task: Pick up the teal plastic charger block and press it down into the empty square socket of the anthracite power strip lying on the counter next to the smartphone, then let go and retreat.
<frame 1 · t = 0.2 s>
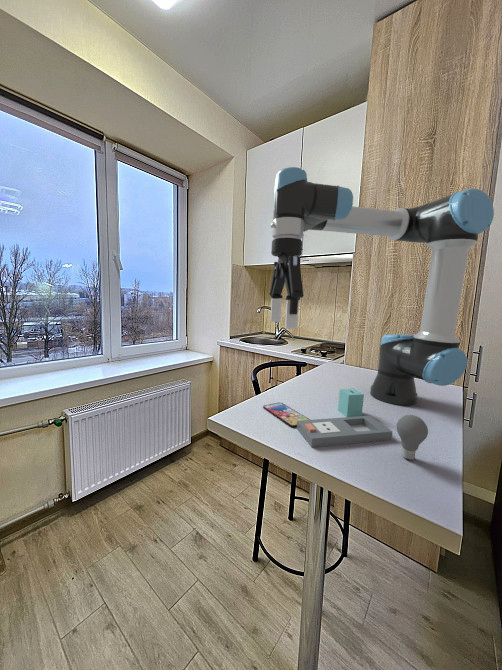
hand: (282, 324, 70), 27 cm above the table, fingers open, 13 cm apart
light bulb: (407, 458, 61), on the table
charger: (349, 413, 83), on the table
smartphone: (285, 416, 81), on the table
power strip: (342, 433, 71), on the table
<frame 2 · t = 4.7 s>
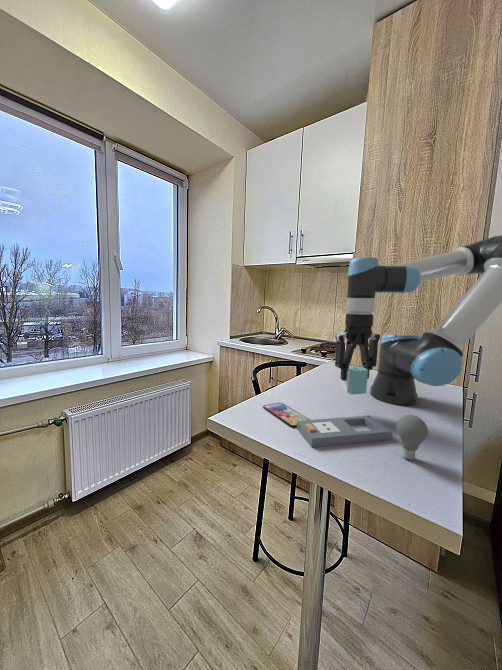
hand: (353, 389, 82), 8 cm above the table, fingers closed on charger, 5 cm apart
charger: (353, 390, 82), point 7 cm above the table, touching gripper
everything else where it was.
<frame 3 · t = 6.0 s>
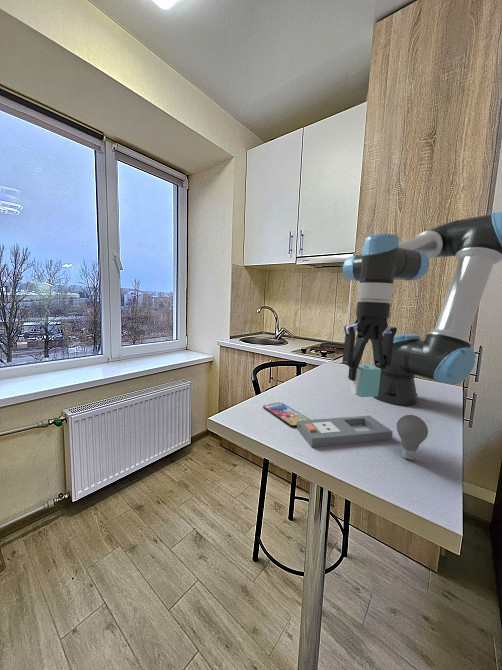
hand: (363, 391, 70), 11 cm above the table, fingers closed on charger, 5 cm apart
charger: (363, 393, 70), point 11 cm above the table, touching gripper
everything else where it was.
when the fingers open (3 cm above the table, at t = 7.6 s): charger drops 2 cm, resting on power strip.
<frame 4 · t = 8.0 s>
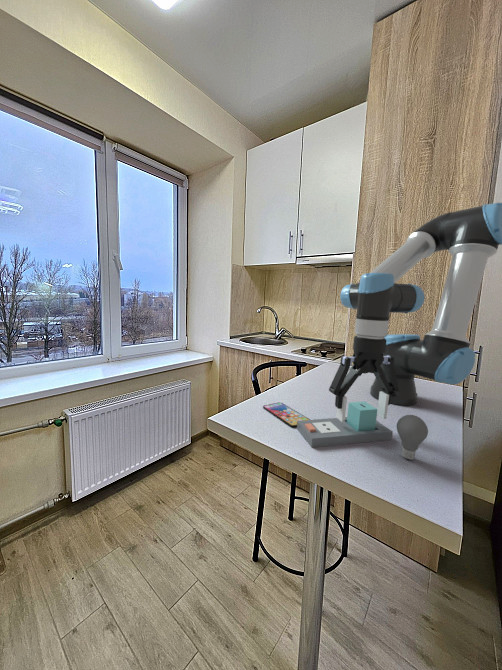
hand: (361, 418, 71), 4 cm above the table, fingers open, 11 cm apart
charger: (360, 430, 72), resting on power strip
everything else where it was.
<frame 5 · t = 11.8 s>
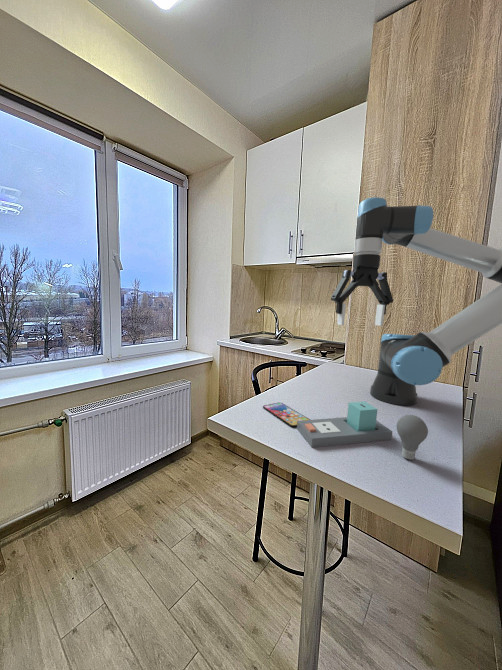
hand: (359, 325, 85), 27 cm above the table, fingers open, 13 cm apart
nothing on the table moved.
at the end: charger 0.1 cm from the target spot on the power strip, point 0.4 cm above the power strip's base; charger tilted 0°; the gripper is holding nothing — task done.
